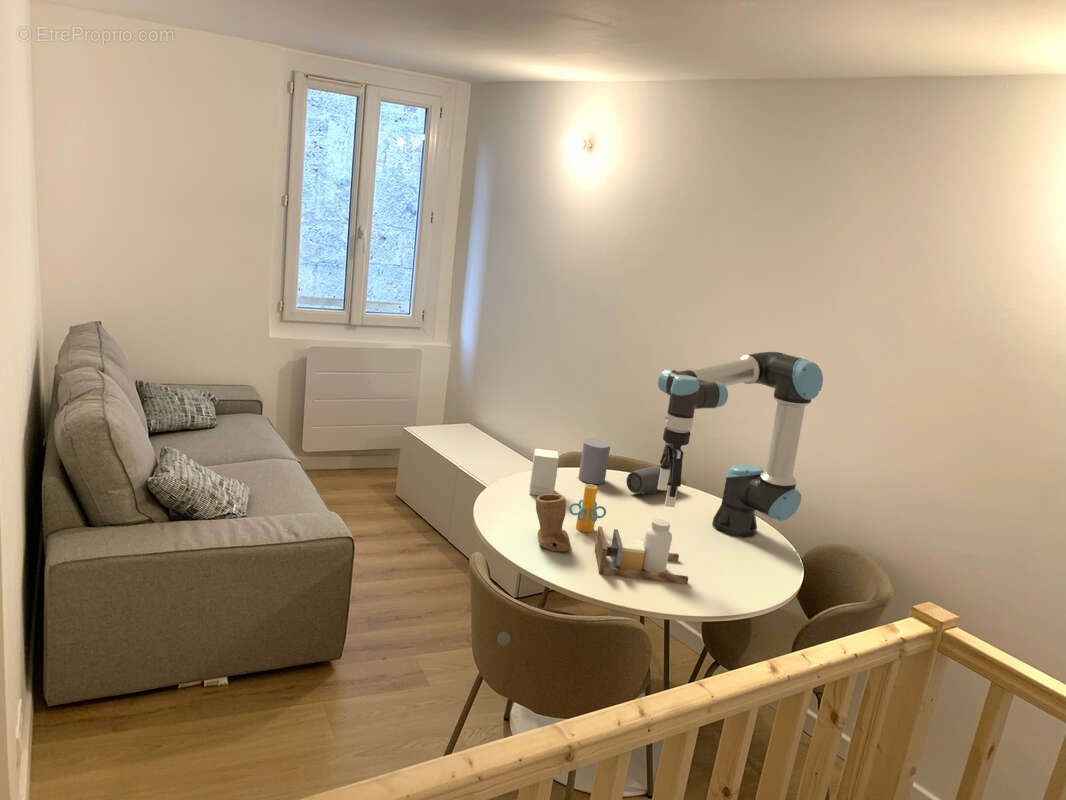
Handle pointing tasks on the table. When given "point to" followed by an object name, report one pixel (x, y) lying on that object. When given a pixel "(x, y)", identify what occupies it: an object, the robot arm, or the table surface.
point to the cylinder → (587, 509)
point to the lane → (601, 553)
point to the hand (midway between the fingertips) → (665, 497)
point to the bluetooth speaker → (645, 480)
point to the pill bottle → (657, 546)
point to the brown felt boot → (552, 522)
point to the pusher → (616, 549)
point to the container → (594, 461)
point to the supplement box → (544, 472)
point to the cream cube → (632, 554)
